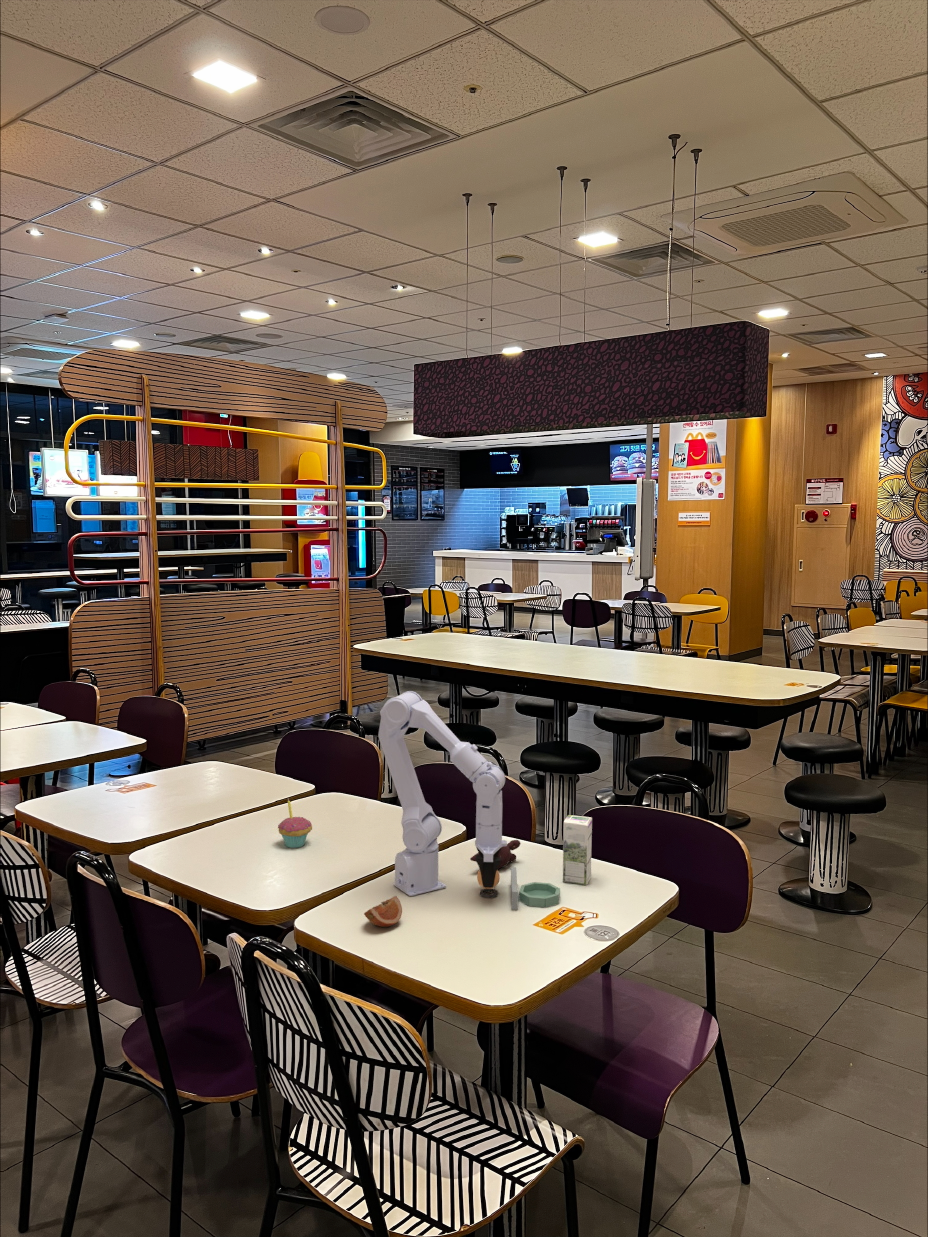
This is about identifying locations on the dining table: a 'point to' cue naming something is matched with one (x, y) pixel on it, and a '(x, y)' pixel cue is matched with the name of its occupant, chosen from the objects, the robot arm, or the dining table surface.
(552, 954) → the dining table surface
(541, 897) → the dish
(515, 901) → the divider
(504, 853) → the icecream
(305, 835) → the cupcake
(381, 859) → the dining table surface
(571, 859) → the syrup box
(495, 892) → the ring
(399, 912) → the fruit slice
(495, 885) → the ball
